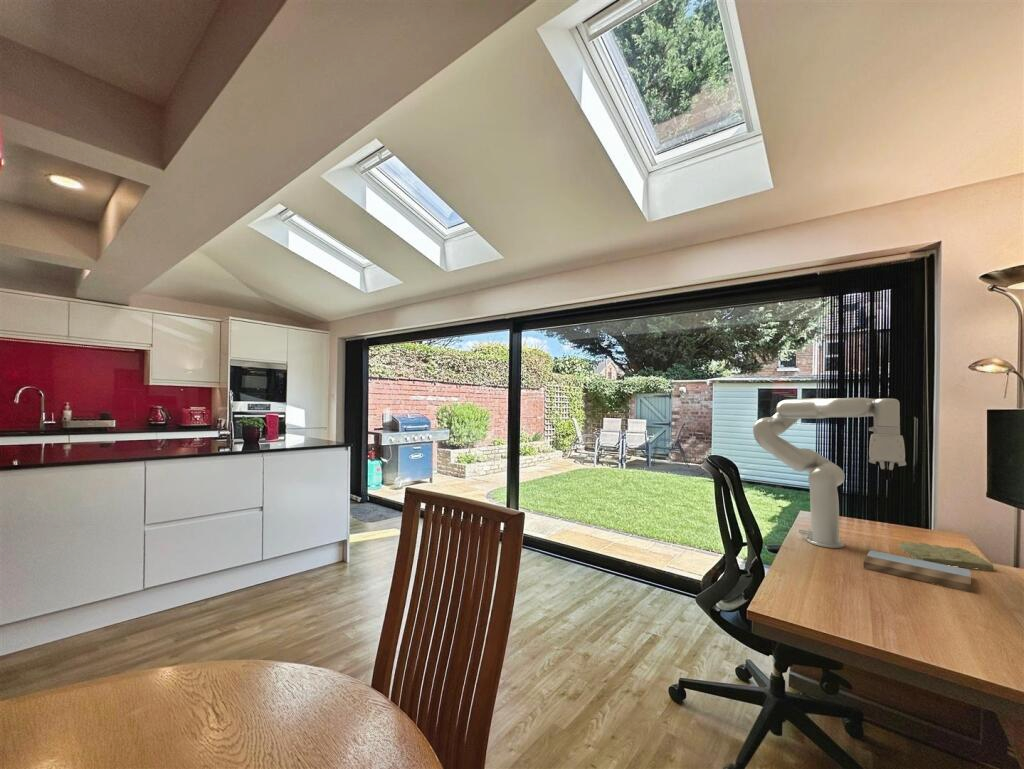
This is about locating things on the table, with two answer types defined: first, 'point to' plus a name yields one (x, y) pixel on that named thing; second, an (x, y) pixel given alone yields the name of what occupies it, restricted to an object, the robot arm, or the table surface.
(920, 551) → the decorative tile
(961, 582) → the walnut plank
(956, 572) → the grey-blue plank
